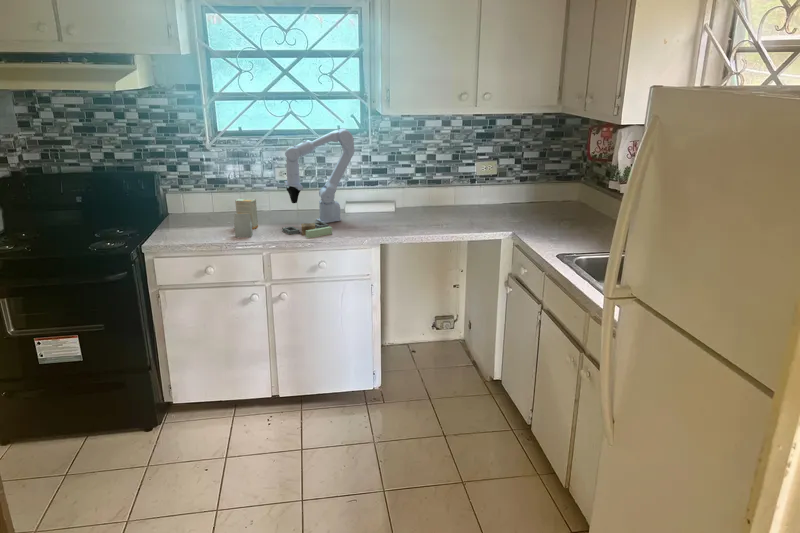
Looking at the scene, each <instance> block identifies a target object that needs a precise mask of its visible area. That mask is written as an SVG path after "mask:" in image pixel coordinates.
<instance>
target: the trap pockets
mask: <svg viewBox="0 0 800 533" xmlns="http://www.w3.org/2000/svg"><path fill="white" fill-rule="evenodd" d="M314 223H315V229H312V230H306V235H305V238H306V237H307V239H311V238H317V237H322V236H328V234H329V235H333V227H332V226H330V225H329V223H324V222H320V221H315V222H314ZM281 230H282V232H283V233H285V234H287V235H296V234H300V232H301V231H300V229H299V228H297V227H294V226H292V225H291V226H285V227H282V228H281Z"/></svg>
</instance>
